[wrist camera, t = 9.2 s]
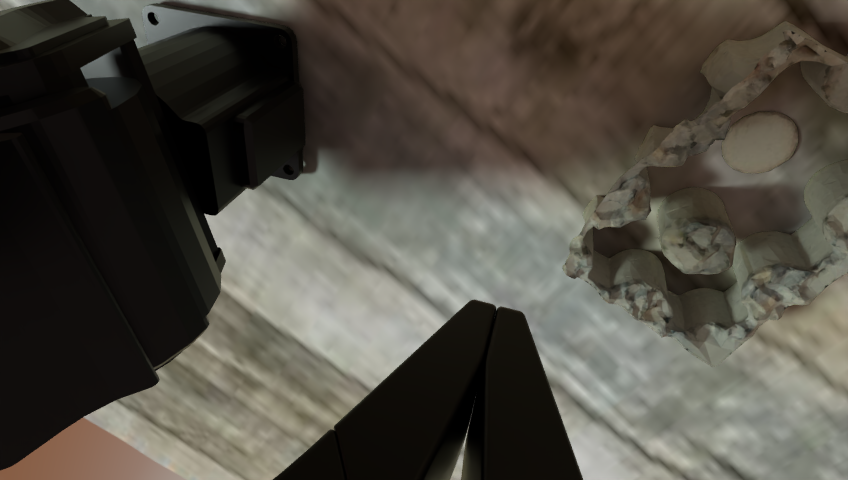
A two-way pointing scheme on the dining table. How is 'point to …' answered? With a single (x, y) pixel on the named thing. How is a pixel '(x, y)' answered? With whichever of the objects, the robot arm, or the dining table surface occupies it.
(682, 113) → the dining table surface
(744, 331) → the egg carton
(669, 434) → the dining table surface
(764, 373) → the dining table surface
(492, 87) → the dining table surface
